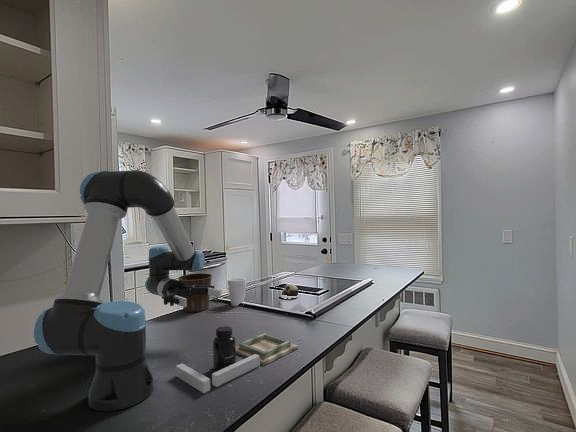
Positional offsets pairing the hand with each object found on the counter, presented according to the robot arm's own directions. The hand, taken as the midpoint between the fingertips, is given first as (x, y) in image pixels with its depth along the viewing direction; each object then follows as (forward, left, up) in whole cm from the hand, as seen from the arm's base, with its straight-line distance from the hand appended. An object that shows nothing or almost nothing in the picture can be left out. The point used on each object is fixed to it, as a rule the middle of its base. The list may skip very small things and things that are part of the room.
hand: (203, 298), depth 112 cm
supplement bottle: (-4, -16, -18) cm, 24 cm away
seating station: (+13, -16, -18) cm, 27 cm away
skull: (+71, +23, -18) cm, 77 cm away
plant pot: (+25, +45, -18) cm, 55 cm away
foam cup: (+43, +35, -18) cm, 58 cm away
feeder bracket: (-6, -16, -18) cm, 25 cm away
